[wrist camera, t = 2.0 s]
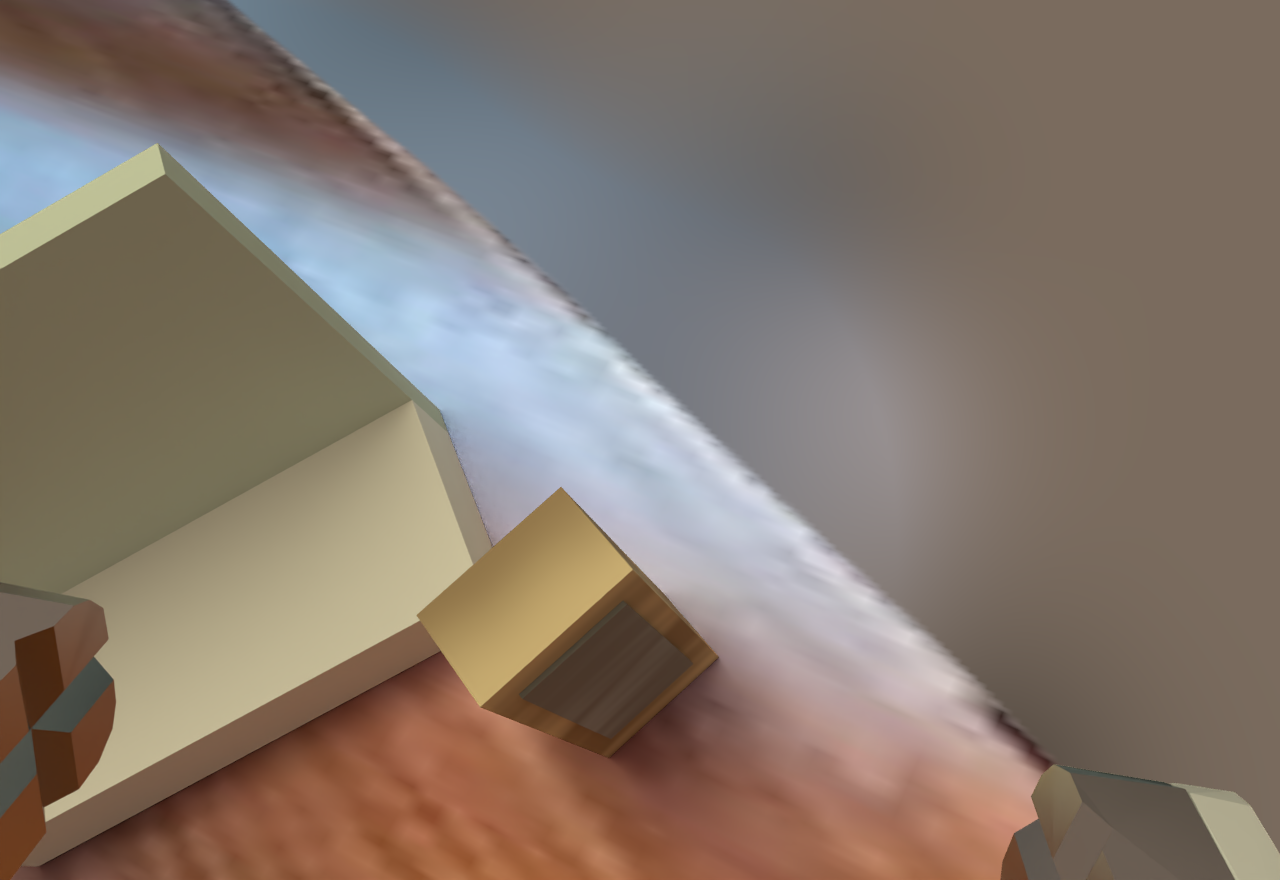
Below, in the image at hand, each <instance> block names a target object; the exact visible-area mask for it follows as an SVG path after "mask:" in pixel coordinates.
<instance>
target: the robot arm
mask: <svg viewBox="0 0 1280 880" xmlns="http://www.w3.org/2000/svg"><path fill="white" fill-rule="evenodd" d="M108 639H109V637H108V632H107V626H106V620H105V614H104V609H103V607H101V606H99V605H98V604H96V603H94V602H93V601H91V600H88V599H83V598H78V597H73V596H68V595H63V594H58V593H53V592H47V591H42V590H37V589H32V588H27V587H22V586H17V585H12V584H6V583H1V582H0V880H10V879H11V878H12V877H13V875H14V874H15V873H16V871H17V870H18V869H19V868H20V866H21V865H22V864H23V862H24V861H25V860H26V858H27V857H28V856H29V854H30V853H31V852H32V851H33V849H34V848H35V847H36V845H37V844H38V843H39V841H40V840H41V839H42V837H43V836H44V835H45V834H46V822H45V810H44V807H46V806H48V805H50V804H52V803H54V802H56V801H57V800H59V799H61V798H63V797H65V796H67V795H69V794H71V793H73V792H75V791H77V790H78V789H80V787H81V786H82V784H83V783H84V782H85V780H86V779H87V778H88V776H89V775H90V773H91V772H92V771H93V769H94V768H95V767H96V765H97V764H98V762H99V760H100V758H101V756H102V753H103V751H104V748H105V746H106V743H107V741H108V739H109V736H110V734H111V731H112V729H113V722H114V715H115V707H116V696H115V686H114V679H113V678H112V677H111V676H110V675H109V673H108V672H107V671H106V670H105V669H104V668H103V666H102V665H101V664H100V663H99V662H98V661H97V660H96V658H95V657H94V656H95V655H96V653H97V652H98V651H99V650H100V649H101V648H102V646H103V645H104V644H105V643H106V642H107V641H108ZM1031 797H1032V800H1033V803H1034V806H1035V809H1036V812H1037V815H1038V818H1039V819H1038V820H1036V821H1034V822H1032V823H1031V824H1029V825H1027V826H1026V827H1024V828H1022V829H1021V830H1019V831H1017V832H1016V833H1014V835H1013V837H1012V840H1011V842H1010V844H1009V847H1008V849H1007V852H1006V854H1005V857H1004V859H1003V862H1002V871H1001V880H1280V854H1279V852H1278V850H1277V849H1276V847H1275V845H1274V844H1273V842H1272V840H1271V839H1270V837H1269V835H1268V834H1267V832H1266V831H1265V829H1264V828H1263V826H1262V824H1261V822H1260V821H1259V819H1258V817H1257V816H1256V814H1255V813H1254V811H1253V809H1252V808H1251V806H1250V805H1249V804H1248V803H1247V802H1246V801H1245V800H1243V799H1242V798H1241V797H1240V796H1238V795H1237V794H1236V793H1235V792H1230V791H1224V790H1217V789H1210V788H1204V787H1198V786H1191V785H1185V784H1177V783H1172V784H1168V783H1165V782H1159V781H1153V780H1147V779H1141V778H1134V777H1129V776H1123V775H1116V774H1110V773H1104V772H1097V771H1092V770H1086V769H1080V768H1074V767H1067V766H1061V765H1055V764H1054V765H1053V766H1051V767H1050V768H1049V769H1048V770H1047V771H1046V772H1045V773H1043V774H1042V775H1041V777H1040V779H1039V782H1038V784H1037V786H1036V788H1035V790H1034V792H1033V794H1032V796H1031Z"/></svg>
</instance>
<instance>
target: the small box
mask: <svg viewBox="0 0 1280 880" xmlns="http://www.w3.org/2000/svg"><path fill="white" fill-rule="evenodd" d="M416 616H417V617H418V619H419V620H420V621H421V623H422V624H423V626H424V627H425V629H426V630H427V631H428V633H429V634H430V636H431V637H432V639H433V640H434V642H435V643H436V644H437V646H438V647H439V649H440V650H441V652H442V653H443V654H444V656H445V657H446V659H447V660H448V662H449V663H450V665H451V666H452V667H453V669H454V670H455V672H456V673H457V675H458V676H459V677H460V679H461V680H462V682H463V683H464V685H465V686H466V688H467V689H468V690H469V692H470V693H471V695H472V696H473V698H474V699H475V700H476V702H477V703H478V705H479V706H480V707H481V708H484V709H486V710H489V711H491V712H494V713H496V714H499V715H501V716H504V717H506V718H509V719H511V720H514V721H517V722H519V723H522V724H524V725H527V726H529V727H532V728H534V729H537V730H539V731H542V732H544V733H547V734H549V735H552V736H555V737H557V738H560V739H562V740H565V741H567V742H570V743H572V744H575V745H577V746H580V747H582V748H585V749H587V750H590V751H593V752H595V753H598V754H600V755H603V756H605V757H608V758H609V757H610V756H612V755H613V754H614V753H615V752H616V751H617V750H618V749H619V748H620V747H621V746H622V745H624V744H625V743H626V742H627V741H628V740H629V739H630V738H631V737H632V736H633V735H634V734H636V733H637V732H638V731H639V730H640V729H641V728H642V727H643V726H644V725H645V724H646V723H648V722H649V721H650V720H651V719H652V718H653V717H654V716H655V715H656V714H657V713H658V712H660V711H661V710H662V709H663V708H664V707H665V706H666V705H667V704H668V703H669V702H670V701H672V700H673V699H674V698H675V697H676V696H677V695H678V694H679V693H680V692H681V691H682V690H684V689H685V688H686V687H687V686H688V685H689V684H690V683H691V682H692V681H693V680H694V679H696V678H697V677H698V676H699V675H700V674H701V673H702V672H703V671H704V670H705V669H706V668H708V667H709V666H710V665H711V664H712V663H713V662H714V661H715V660H716V659H717V658H718V655H717V654H716V653H715V652H714V651H713V650H712V649H711V647H710V646H709V645H708V644H707V643H706V642H705V641H704V639H703V638H702V637H701V636H700V635H699V634H698V633H697V631H696V630H695V629H694V628H693V627H692V626H691V625H690V623H689V622H688V621H687V620H686V619H685V618H684V617H683V615H682V614H681V613H680V612H679V611H678V610H677V609H676V607H675V606H674V605H673V604H672V603H671V602H670V601H669V599H668V598H667V597H666V596H665V595H664V594H663V593H662V591H661V590H660V589H659V588H658V587H657V586H656V585H655V584H654V583H653V582H652V581H651V580H650V579H649V578H648V577H647V576H646V575H645V574H644V573H643V572H642V571H641V570H640V569H639V568H638V566H637V565H636V564H635V563H634V562H633V561H632V560H631V559H630V558H629V557H628V556H627V555H626V554H625V553H624V552H623V551H622V550H621V549H620V548H619V547H618V546H617V545H616V544H615V543H614V542H613V540H612V539H611V538H610V537H609V536H608V535H607V534H606V533H605V532H604V531H603V530H602V529H601V528H600V527H599V526H598V525H597V524H596V523H595V522H594V521H593V520H592V519H591V518H590V517H589V515H588V514H587V513H586V512H585V511H584V510H583V509H582V508H581V507H580V506H579V505H578V504H577V503H576V502H575V501H574V500H573V499H572V498H571V497H570V496H569V495H568V494H567V493H566V492H565V491H564V489H563V488H562V487H560V488H559V489H558V490H557V491H556V492H555V493H554V494H552V495H551V496H550V497H549V498H548V499H547V500H546V501H544V502H543V503H542V504H541V505H540V506H539V507H538V508H537V509H535V510H534V511H533V512H532V513H531V514H530V515H529V516H528V517H526V518H525V519H524V520H523V521H522V522H521V523H520V524H519V525H517V526H516V527H515V528H514V529H513V530H512V531H511V532H510V533H508V534H507V535H506V536H505V537H504V538H503V539H502V540H501V541H499V542H498V543H497V544H496V545H495V546H494V547H493V548H492V549H490V550H489V551H488V552H487V553H486V554H485V555H484V556H482V557H481V558H480V559H479V560H478V561H477V562H476V563H475V564H473V565H472V566H471V567H470V568H469V569H468V570H467V571H466V572H464V573H463V574H462V575H461V576H460V577H459V578H458V579H457V580H455V581H454V582H453V583H452V584H451V585H450V586H449V587H448V588H446V589H445V590H444V591H443V592H442V593H441V594H440V595H439V596H437V597H436V598H435V599H434V600H433V601H432V602H431V603H430V604H428V605H427V606H426V607H425V608H424V609H423V610H422V611H420V612H419V613H418V614H417V615H416Z"/></svg>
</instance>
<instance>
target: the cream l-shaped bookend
mask: <svg viewBox="0 0 1280 880" xmlns="http://www.w3.org/2000/svg"><path fill="white" fill-rule="evenodd" d="M492 548H493V547H492V545H491V542H490V540H489V537H488V535H487V532H486V529H485V527H484V524H483V522H482V519H481V516H480V514H479V511H478V509H477V506H476V503H475V501H474V498H473V496H472V493H471V490H470V488H469V485H468V483H467V480H466V478H465V475H464V472H463V470H462V467H461V465H460V462H459V459H458V457H457V454H456V452H455V449H454V446H453V444H452V441H451V439H450V436H449V434H448V431H447V428H446V426H445V423H444V421H443V418H442V415H441V413H440V410H439V409H438V408H437V407H436V406H435V405H434V404H433V403H432V402H431V401H430V400H429V399H428V398H427V397H425V396H424V395H423V394H422V393H421V392H420V391H419V390H418V389H417V388H416V387H415V386H414V385H413V384H412V383H411V382H410V381H409V380H407V379H406V378H405V377H404V376H403V375H402V374H401V373H400V372H399V371H398V370H397V369H396V368H395V367H394V366H393V365H392V364H391V363H390V362H388V361H387V360H386V359H385V358H384V357H383V356H382V355H381V354H380V353H379V352H378V351H377V350H376V349H375V348H374V347H373V346H372V345H370V344H369V343H368V342H367V341H366V340H365V339H364V338H363V337H362V336H361V335H360V334H359V333H358V332H357V331H356V330H355V329H354V328H353V327H351V326H350V325H349V324H348V323H347V322H346V321H345V320H344V319H343V318H342V317H341V316H340V315H339V314H338V313H337V312H336V311H335V310H333V309H332V308H331V307H330V306H329V305H328V304H327V303H326V302H325V301H324V300H323V299H322V298H321V297H320V296H319V295H318V294H317V293H316V292H314V291H313V290H312V289H311V288H310V287H309V286H308V285H307V284H306V283H305V282H304V281H303V280H302V279H301V278H300V277H299V276H298V275H296V274H295V273H294V272H293V271H292V270H291V269H290V268H289V267H288V266H287V265H286V264H285V263H284V262H283V261H282V260H281V259H280V258H279V257H277V256H276V255H275V254H274V253H273V252H272V251H271V250H270V249H269V248H268V247H267V246H266V245H265V244H264V243H263V242H262V241H261V240H259V239H258V238H257V237H256V236H255V235H254V234H253V233H252V232H251V231H250V230H249V229H248V228H247V227H246V226H245V225H244V224H243V223H242V222H240V221H239V220H238V219H237V218H236V217H235V216H234V215H233V214H232V213H231V212H230V211H229V210H228V209H227V208H226V207H225V206H224V205H222V204H221V203H220V202H219V201H218V200H217V199H216V198H215V197H214V196H213V195H212V194H211V193H210V192H209V191H208V190H207V189H206V188H205V187H203V186H202V185H201V184H200V183H199V182H198V181H197V180H196V179H195V178H194V177H193V176H192V175H191V174H190V173H189V172H188V171H187V170H185V169H184V168H183V167H182V166H181V165H180V164H179V163H178V162H177V161H176V160H175V159H174V158H173V157H172V156H171V155H170V154H169V153H168V152H166V151H165V150H164V149H163V148H162V147H161V146H160V145H159V144H158V143H157V144H155V145H153V146H152V147H150V148H148V149H146V150H145V151H143V152H141V153H140V154H138V155H136V156H134V157H133V158H131V159H129V160H128V161H126V162H124V163H122V164H121V165H119V166H117V167H115V168H114V169H112V170H110V171H109V172H107V173H105V174H103V175H102V176H100V177H98V178H97V179H95V180H93V181H91V182H90V183H88V184H86V185H84V186H83V187H81V188H79V189H78V190H76V191H74V192H72V193H71V194H69V195H67V196H65V197H64V198H62V199H60V200H59V201H57V202H55V203H53V204H52V205H50V206H48V207H47V208H45V209H43V210H41V211H40V212H38V213H36V214H34V215H33V216H31V217H29V218H28V219H26V220H24V221H22V222H21V223H19V224H17V225H16V226H14V227H12V228H10V229H9V230H7V231H5V232H3V233H2V234H0V582H1V583H6V584H12V585H17V586H22V587H27V588H32V589H37V590H42V591H47V592H53V593H58V594H63V595H68V596H73V597H78V598H83V599H88V600H91V601H93V602H94V603H96V604H98V605H99V606H101V607H103V609H104V614H105V620H106V626H107V632H108V637H109V639H108V641H107V642H106V643H105V644H104V645H103V646H102V648H101V649H100V650H99V651H98V652H97V653H96V655H95V656H94V657H95V658H96V660H97V661H98V662H99V663H100V664H101V665H102V666H103V668H104V669H105V670H106V671H107V672H108V673H109V675H110V676H111V677H112V678H113V679H114V686H115V696H116V707H115V715H114V722H113V729H112V731H111V734H110V736H109V739H108V741H107V743H106V746H105V748H104V751H103V753H102V756H101V758H100V760H99V762H98V764H97V765H96V767H95V768H94V769H93V771H92V772H91V773H90V775H89V776H88V778H87V779H86V780H85V782H84V783H83V784H82V786H81V787H80V789H78V790H77V791H75V792H73V793H71V794H69V795H67V796H65V797H63V798H61V799H59V800H57V801H56V802H54V803H52V804H50V805H48V806H46V807H44V810H45V822H46V834H45V835H44V836H43V837H42V839H41V840H40V841H39V843H38V844H37V845H36V847H35V848H34V849H33V851H32V852H31V853H30V854H29V856H28V857H27V858H26V860H25V861H24V862H23V864H22V865H21V866H35V867H38V866H40V865H42V864H44V863H46V862H48V861H50V860H52V859H53V858H55V857H57V856H59V855H61V854H63V853H65V852H66V851H68V850H70V849H72V848H74V847H76V846H78V845H80V844H81V843H83V842H85V841H87V840H89V839H91V838H93V837H94V836H96V835H98V834H100V833H102V832H104V831H106V830H108V829H109V828H111V827H113V826H115V825H117V824H119V823H121V822H122V821H124V820H126V819H128V818H130V817H132V816H134V815H136V814H137V813H139V812H141V811H143V810H145V809H147V808H149V807H150V806H152V805H154V804H156V803H158V802H160V801H162V800H163V799H165V798H167V797H169V796H171V795H173V794H175V793H177V792H178V791H180V790H182V789H184V788H186V787H188V786H190V785H191V784H193V783H195V782H197V781H199V780H201V779H203V778H205V777H206V776H208V775H210V774H212V773H214V772H216V771H218V770H219V769H221V768H223V767H225V766H227V765H229V764H231V763H233V762H234V761H236V760H238V759H240V758H242V757H244V756H246V755H247V754H249V753H251V752H253V751H255V750H257V749H259V748H261V747H262V746H264V745H266V744H268V743H270V742H272V741H274V740H275V739H277V738H279V737H281V736H283V735H285V734H287V733H289V732H290V731H292V730H294V729H296V728H298V727H300V726H302V725H303V724H305V723H307V722H309V721H311V720H313V719H315V718H317V717H318V716H320V715H322V714H324V713H326V712H328V711H330V710H331V709H333V708H335V707H337V706H339V705H341V704H343V703H345V702H346V701H348V700H350V699H352V698H354V697H356V696H358V695H359V694H361V693H363V692H365V691H367V690H369V689H371V688H373V687H374V686H376V685H378V684H380V683H382V682H384V681H386V680H387V679H389V678H391V677H393V676H395V675H397V674H399V673H401V672H402V671H404V670H406V669H408V668H410V667H412V666H414V665H415V664H417V663H419V662H421V661H423V660H425V659H427V658H429V657H430V656H432V655H434V654H436V653H438V652H440V651H441V650H440V649H439V647H438V646H437V644H436V643H435V642H434V640H433V639H432V637H431V636H430V634H429V633H428V631H427V630H426V629H425V627H424V626H423V624H422V623H421V621H420V620H419V619H418V617H417V616H416V615H417V614H418V613H419V612H420V611H422V610H423V609H424V608H425V607H426V606H427V605H428V604H430V603H431V602H432V601H433V600H434V599H435V598H436V597H437V596H439V595H440V594H441V593H442V592H443V591H444V590H445V589H446V588H448V587H449V586H450V585H451V584H452V583H453V582H454V581H455V580H457V579H458V578H459V577H460V576H461V575H462V574H463V573H464V572H466V571H467V570H468V569H469V568H470V567H471V566H472V565H473V564H475V563H476V562H477V561H478V560H479V559H480V558H481V557H482V556H484V555H485V554H486V553H487V552H488V551H489V550H490V549H492Z"/></svg>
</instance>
